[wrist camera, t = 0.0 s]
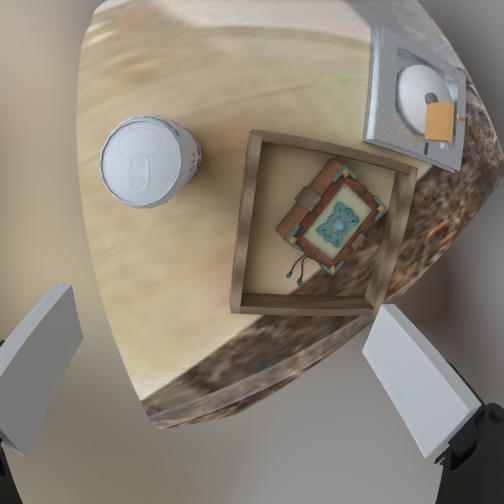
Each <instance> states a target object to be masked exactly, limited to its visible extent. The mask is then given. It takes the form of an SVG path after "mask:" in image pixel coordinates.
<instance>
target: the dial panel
mask: <svg viewBox="0 0 504 504" xmlns="http://www.w3.org/2000/svg"><path fill="white" fill-rule="evenodd" d="M414 65H424V66H427V67H429V68H431V69H432V70H434V71H435V72H436V73H437V74H438V75H439V76H440V77H441V78H442V79H443V81H444V82H445V84H446V85H447V87H448V89H449V91H450V94H451V97H452V101H453V104H454V120H453V133H452V143H447V142H436V141H429V140H427V139H425V136H423V135H421V134H419V133H417V132H416V131H414V130H413V129H412V128H411V127H410V126H409V125H408V124H407V122H406V121H405V119H404V118H403V116H402V114H401V112H400V109H399V107H398V103H397V99H396V81H397V78H398V76H399V74H400V73H401V72H402V70H404V69H405V68H407V67H410V66H414ZM465 115H466V75H465V74H463V73H462V72H461V71H459V70H458V69H456V68H455V67H454V66H452V65H451V64H449V63H448V62H446V61H445V60H443V59H442V58H440V57H439V56H437V55H435V54H434V53H432V52H431V51H429V50H427V49H426V48H424V47H422V46H420V45H419V44H417V43H415V42H413V41H412V40H410V39H408V38H406V37H404V36H402V35H400V34H398V33H396V32H394V31H392V30H390V29H388V28H386V27H384V26H383V27H382V28H380V29H379V28H377V27H373V28H372V29H371V49H370V69H369V83H368V95H367V105H366V115H365V123H364V131H363V139H362V142H366V143H369V144H373V145H376V146H379V147H383V148H386V149H389V150H392V151H395V152H398V153H401V154H404V155H407V156H410V157H412V158H415V159H418V160H420V161H423V162H426V163H428V164H431V165H433V166H436V167H438V168H441V169H443V170H446V171H448V172H451V173H454V170H456V171H460V168H461V161H462V153H463V143H464V132H465Z"/></svg>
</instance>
